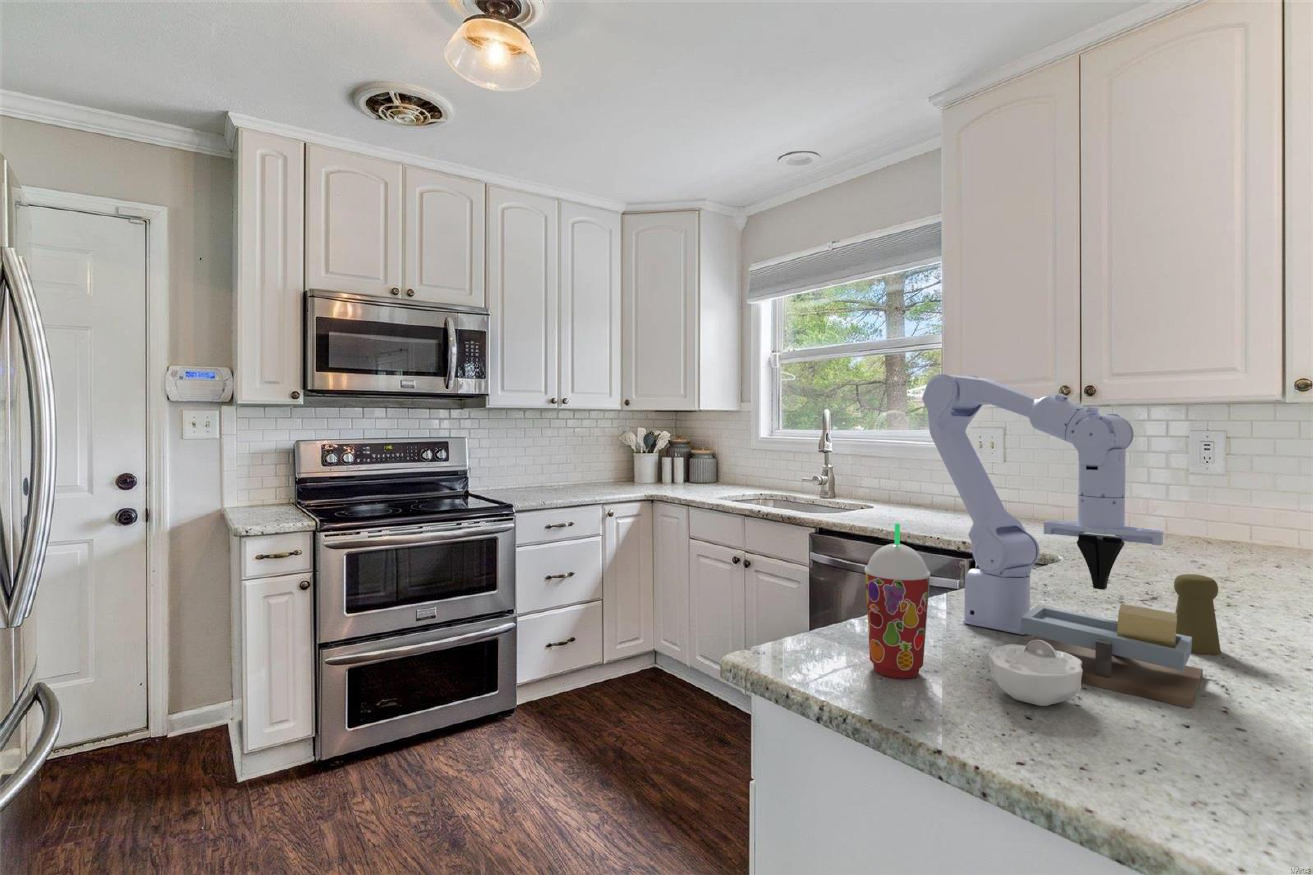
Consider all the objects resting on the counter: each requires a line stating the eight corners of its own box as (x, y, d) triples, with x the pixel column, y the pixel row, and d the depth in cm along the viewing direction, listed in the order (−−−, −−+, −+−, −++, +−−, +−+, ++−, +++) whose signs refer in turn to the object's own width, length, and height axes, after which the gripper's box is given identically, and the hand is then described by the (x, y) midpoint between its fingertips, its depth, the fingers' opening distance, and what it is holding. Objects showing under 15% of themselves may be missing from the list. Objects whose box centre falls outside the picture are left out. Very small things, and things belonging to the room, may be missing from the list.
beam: (1019, 632, 93) (1020, 617, 93) (1038, 619, 100) (1039, 604, 99) (1182, 671, 80) (1183, 653, 80) (1191, 653, 87) (1192, 636, 87)
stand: (1006, 665, 92) (1006, 626, 92) (1034, 642, 102) (1035, 607, 102) (1190, 708, 78) (1191, 662, 78) (1202, 676, 88) (1203, 636, 88)
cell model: (968, 697, 81) (969, 642, 81) (1014, 675, 88) (1014, 625, 88) (1058, 728, 73) (1059, 666, 73) (1100, 701, 80) (1101, 645, 80)
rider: (1116, 641, 87) (1118, 611, 87) (1119, 632, 91) (1121, 603, 91) (1174, 653, 83) (1176, 622, 83) (1174, 643, 87) (1176, 613, 87)
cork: (1231, 656, 96) (1232, 580, 96) (1183, 653, 97) (1184, 578, 97) (1205, 643, 102) (1206, 571, 102) (1161, 640, 103) (1162, 570, 103)
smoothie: (927, 664, 92) (928, 521, 92) (931, 687, 84) (932, 530, 84) (864, 657, 95) (865, 518, 94) (862, 678, 87) (863, 526, 87)
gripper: (1038, 494, 100) (1037, 584, 100) (1158, 502, 90) (1157, 602, 90) (1050, 491, 105) (1049, 576, 105) (1165, 498, 95) (1164, 592, 95)
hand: (1100, 588), depth 98 cm, fingers closed
